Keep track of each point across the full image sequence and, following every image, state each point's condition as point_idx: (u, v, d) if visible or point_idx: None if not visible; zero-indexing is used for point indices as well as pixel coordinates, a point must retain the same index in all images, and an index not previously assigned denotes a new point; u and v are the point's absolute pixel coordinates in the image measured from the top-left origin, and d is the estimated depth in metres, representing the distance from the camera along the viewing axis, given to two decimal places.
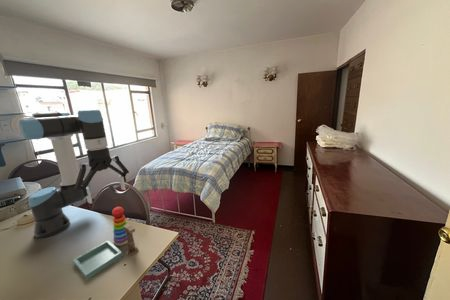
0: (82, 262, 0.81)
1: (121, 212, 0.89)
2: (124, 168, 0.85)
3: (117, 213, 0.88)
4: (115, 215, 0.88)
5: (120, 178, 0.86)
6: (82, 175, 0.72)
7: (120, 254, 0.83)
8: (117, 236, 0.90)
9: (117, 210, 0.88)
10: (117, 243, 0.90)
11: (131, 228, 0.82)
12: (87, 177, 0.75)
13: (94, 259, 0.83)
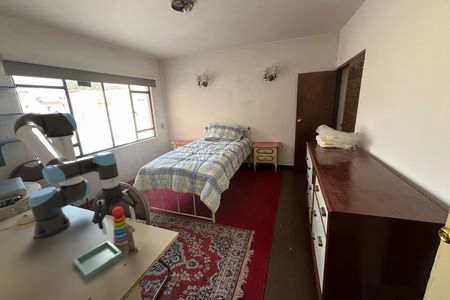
0: (82, 262, 0.81)
1: (121, 212, 0.89)
2: (134, 200, 0.95)
3: (117, 213, 0.88)
4: (115, 215, 0.88)
5: (130, 209, 0.95)
6: (98, 211, 0.82)
7: (120, 254, 0.83)
8: (117, 236, 0.90)
9: (117, 210, 0.89)
10: (117, 243, 0.90)
11: (131, 228, 0.82)
12: (102, 212, 0.85)
13: (94, 259, 0.83)
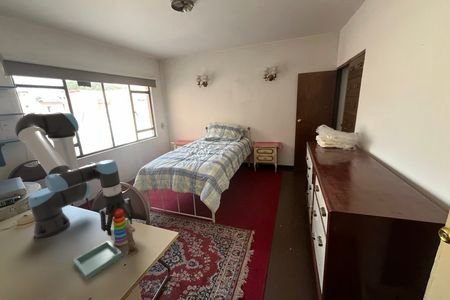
0: (82, 262, 0.81)
1: (121, 212, 0.89)
2: (132, 211, 0.95)
3: (117, 213, 0.88)
4: (115, 215, 0.88)
5: (127, 221, 0.95)
6: (104, 219, 0.85)
7: (120, 254, 0.83)
8: (117, 236, 0.90)
9: (117, 210, 0.88)
10: (117, 243, 0.90)
11: (131, 228, 0.82)
12: (108, 220, 0.87)
13: (94, 259, 0.83)
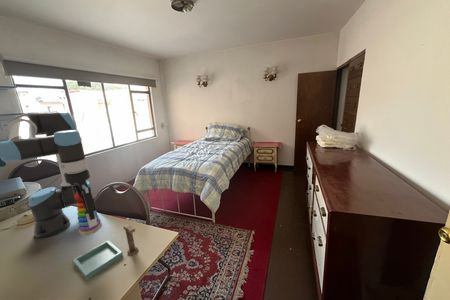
0: (82, 262, 0.81)
1: (75, 197, 0.73)
2: (86, 206, 0.71)
3: (74, 195, 0.74)
4: None
5: None
6: (73, 192, 0.78)
7: (120, 254, 0.83)
8: None
9: (76, 192, 0.74)
10: None
11: (131, 228, 0.82)
12: None
13: (94, 259, 0.83)
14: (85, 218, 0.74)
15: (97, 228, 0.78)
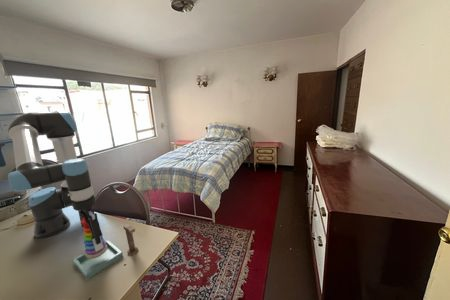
0: (82, 262, 0.81)
1: (82, 222, 0.75)
2: (93, 231, 0.74)
3: None
4: None
5: None
6: (79, 216, 0.80)
7: (120, 254, 0.83)
8: None
9: None
10: None
11: (131, 228, 0.82)
12: None
13: (94, 259, 0.83)
14: (91, 242, 0.77)
15: (103, 251, 0.80)
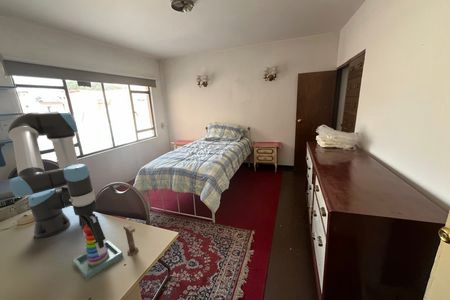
0: (82, 262, 0.81)
1: (84, 230, 0.76)
2: (95, 235, 0.73)
3: (83, 228, 0.77)
4: None
5: None
6: (79, 218, 0.81)
7: (120, 254, 0.83)
8: None
9: None
10: None
11: (131, 228, 0.82)
12: None
13: None
14: (93, 250, 0.78)
15: (104, 258, 0.81)
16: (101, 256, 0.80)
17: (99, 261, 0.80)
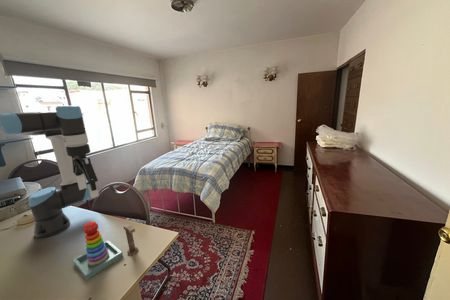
0: (82, 262, 0.81)
1: (84, 230, 0.76)
2: (87, 176, 0.73)
3: (83, 228, 0.77)
4: None
5: None
6: (72, 163, 0.81)
7: (120, 254, 0.83)
8: None
9: None
10: None
11: (131, 228, 0.82)
12: None
13: None
14: (93, 250, 0.78)
15: (104, 258, 0.81)
16: (101, 256, 0.80)
17: (99, 261, 0.80)
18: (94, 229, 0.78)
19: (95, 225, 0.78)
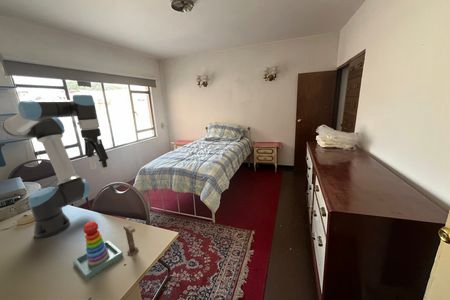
0: (82, 262, 0.81)
1: (84, 230, 0.76)
2: (100, 154, 0.86)
3: (83, 228, 0.77)
4: None
5: None
6: (85, 146, 0.94)
7: (120, 254, 0.83)
8: None
9: None
10: None
11: (131, 228, 0.82)
12: None
13: None
14: (93, 250, 0.78)
15: (104, 258, 0.81)
16: (101, 256, 0.80)
17: (99, 261, 0.80)
18: (94, 229, 0.78)
19: (95, 225, 0.78)
